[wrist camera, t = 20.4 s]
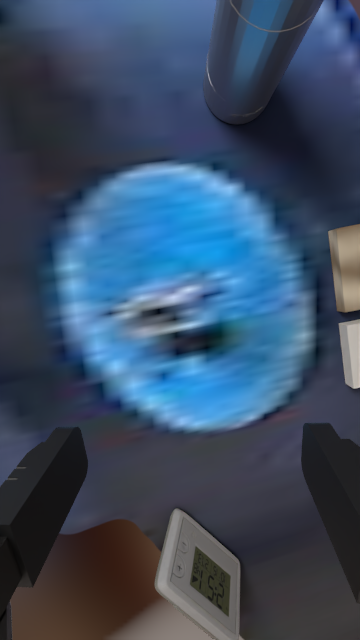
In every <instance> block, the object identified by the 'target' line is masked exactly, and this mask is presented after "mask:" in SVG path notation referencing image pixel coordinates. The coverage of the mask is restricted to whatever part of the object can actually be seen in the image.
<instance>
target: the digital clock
mask: <svg viewBox="0 0 360 640" xmlns="http://www.w3.org/2000/svg"><path fill="white" fill-rule="evenodd" d="M155 588H156V590H157V592H158V593H159V594H161V595H162V596H163V597H164V598H165V599H167V600H168V601H169V602H170V603H171V604H172V605H174V608H176V609H177V610H178V611H179V612H181V613H182V614H183V615H184V616H186V617H187V618H188V619H189V620H190V621H192V622H193V623H194V624H195V625H197V626H198V627H199V628H200V629H202V630H203V631H204V632H205V633H207V634H208V635H209V636H210V637H211V638H213V639H216V640H238V639H239V613H240V562H239V560H238V559H237V558H236V557H235V556H234V555H233V554H232V553H231V552H230V551H229V550H227V549H226V548H225V547H224V546H223V545H222V544H221V543H219V542H218V541H217V540H216V539H215V538H214V537H213V536H211V535H210V534H209V533H208V532H207V531H206V530H205V529H204V528H202V527H201V526H200V525H199V524H198V523H197V522H196V521H194V520H193V519H192V518H191V517H190V516H189V515H187V514H186V513H185V512H183V511H182V510H180V509H178V508H176V509H174V510H173V512H172V514H171V517H170V521H169V525H168V529H167V533H166V537H165V541H164V545H163V549H162V553H161V557H160V561H159V565H158V570H157V574H156V578H155Z"/></svg>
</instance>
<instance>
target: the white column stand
mask: <svg viewBox="0 0 360 640" xmlns="http://www.w3.org/2000/svg"><path fill="white" fill-rule="evenodd" d="M339 331H340V340H341V348H342V357H343V366H344V375H345V383H346V384H347V385H348V386H350V387H352V388H353V389H355V388H360V319H358V320H353V321H348V322H344V323H339Z"/></svg>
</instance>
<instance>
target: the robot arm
mask: <svg viewBox="0 0 360 640" xmlns="http://www.w3.org/2000/svg"><path fill="white" fill-rule="evenodd" d="M322 2H323V0H216V7H215V13H214V20H213V26H212V32H211V39H210V45H209V51H208V57H207V63H206V70H205V76H204V86H203V90H204V96H205V100H206V102H207V105H208V107H209V108H210V110H211V112H212V113H213V114H214V115H215V116H216V117H218V118H219V119H220V120H222V121H224V122H227V123H229V124H244V123H247V122H250V121H252V120H253V119H255V118H257V117H258V116H259V115H260V114H261V113H262V112H263V110H264V109H265V107H266V106H267V104H268V102H269V100H270V98H271V96H272V95H273V93H274V91H275V89H276V87H277V86H278V84H279V82H280V80H281V78H282V76H283V75H284V73H285V71H286V69H287V67H288V65H289V63H290V62H291V60H292V58H293V56H294V54H295V52H296V50H297V49H298V47H299V45H300V43H301V41H302V39H303V37H304V36H305V34H306V32H307V30H308V28H309V26H310V25H311V23H312V21H313V19H314V17H315V15H316V13H317V12H318V10H319V8H320V6H321V4H322ZM301 463H302V470H303V474H304V477H305V480H306V483H307V485H308V487H309V490H310V492H311V495H312V497H313V499H314V502H315V504H316V506H317V509H318V511H319V514H320V516H321V518H322V521H323V523H324V526H325V528H326V530H327V533H328V535H329V537H330V540H331V542H332V545H333V547H334V549H335V552H336V554H337V556H338V559H339V561H340V564H341V566H342V568H343V571H344V573H345V575H346V578H347V580H348V583H349V585H350V587H351V590H352V592H353V594H354V597H355V599H356V602H357V603H360V447H359V446H358V445H357V444H355V443H354V442H353V441H351V440H350V439H340V437H339V436H338V434H337V433H336V432H335V430H334V429H333V427H332V426H331V425H330V424H329V423H305V424H304V426H303V439H302V456H301ZM87 469H88V460H87V455H86V451H85V446H84V442H83V438H82V433H81V430H80V428H79V427H58V428H56V429H55V430H54V431H53V432H52V434H51V435H50V436H49V438H48V439H47V440H46V442H41V443H40V444H39V445H37V446H36V447H35V448H33V449H32V450H31V451H30V452H28V453H27V454H26V455H25V457H24V458H23V459H22V460H21V462H20V463H19V464H18V465H17V468H16V469H14V470H13V472H12V473H11V474H10V475H9V477H8V480H5V482H4V483H3V484H2V485H1V487H0V640H12V614H11V603H10V599H11V597H12V595H13V593H14V591H15V589H16V588H17V587H33V586H34V584H35V582H36V580H37V577H38V575H39V573H40V571H41V569H42V567H43V565H44V563H45V561H46V559H47V557H48V554H49V552H50V551H51V548H52V546H53V544H54V542H55V540H56V538H57V536H58V534H59V532H60V530H61V528H62V526H63V523H64V521H65V519H66V517H67V515H68V513H69V511H70V509H71V507H72V505H73V503H74V501H75V498H76V496H77V494H78V492H79V490H80V488H81V486H82V484H83V482H84V480H85V477H86V474H87Z"/></svg>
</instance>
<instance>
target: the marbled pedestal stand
mask: <svg viewBox="0 0 360 640" xmlns="http://www.w3.org/2000/svg"><path fill="white" fill-rule="evenodd" d="M328 235H329V243H330V252H331V261H332V270H333V278H334V287H335V296H336V305H337V311H340V312H345V313H346V312H350V311H355V310H360V224H357V225H352V226H347V227H342V228H338V229H334V230H331V231H328Z"/></svg>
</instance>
